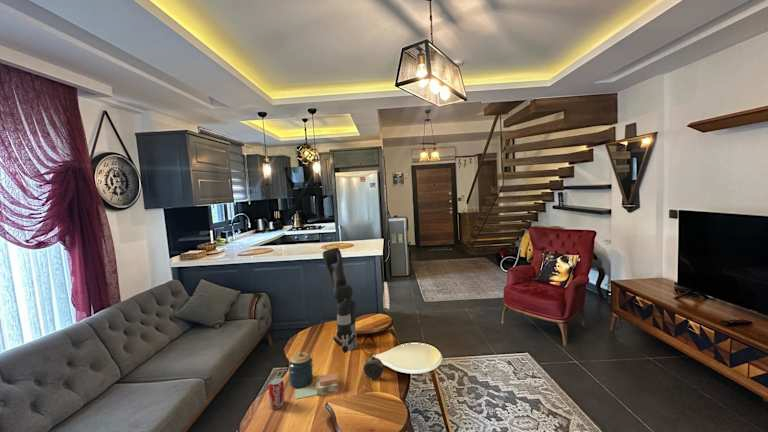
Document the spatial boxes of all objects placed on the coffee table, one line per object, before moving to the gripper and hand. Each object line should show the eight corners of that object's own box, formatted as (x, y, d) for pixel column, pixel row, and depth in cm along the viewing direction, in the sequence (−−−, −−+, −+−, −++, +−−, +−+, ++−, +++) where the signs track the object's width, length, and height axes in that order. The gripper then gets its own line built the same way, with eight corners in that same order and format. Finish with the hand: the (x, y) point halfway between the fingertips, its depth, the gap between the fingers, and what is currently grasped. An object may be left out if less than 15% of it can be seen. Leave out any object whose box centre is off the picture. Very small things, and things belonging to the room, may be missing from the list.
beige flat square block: (335, 381, 180) (335, 374, 180) (338, 391, 170) (337, 384, 170) (315, 385, 177) (315, 378, 177) (317, 396, 167) (316, 388, 167)
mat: (315, 386, 176) (315, 385, 176) (317, 394, 168) (317, 394, 168) (295, 390, 173) (295, 389, 173) (295, 399, 165) (295, 398, 165)
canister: (292, 391, 172) (290, 360, 171) (287, 379, 183) (286, 349, 182) (315, 384, 178) (314, 353, 177) (309, 372, 189) (308, 344, 188)
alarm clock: (384, 377, 182) (383, 350, 181) (382, 383, 177) (381, 355, 176) (365, 375, 185) (364, 348, 183) (363, 381, 179) (362, 353, 178)
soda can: (271, 401, 164) (270, 377, 163) (285, 399, 165) (284, 375, 164) (267, 410, 157) (266, 385, 156) (282, 409, 158) (281, 384, 157)
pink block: (335, 376, 178) (335, 373, 178) (337, 382, 172) (337, 378, 172) (319, 379, 175) (319, 376, 175) (320, 385, 170) (320, 382, 169)
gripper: (354, 317, 180) (355, 347, 181) (330, 320, 176) (332, 351, 177) (357, 322, 172) (358, 353, 174) (332, 326, 169) (334, 357, 170)
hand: (345, 352), depth 175 cm, fingers closed
